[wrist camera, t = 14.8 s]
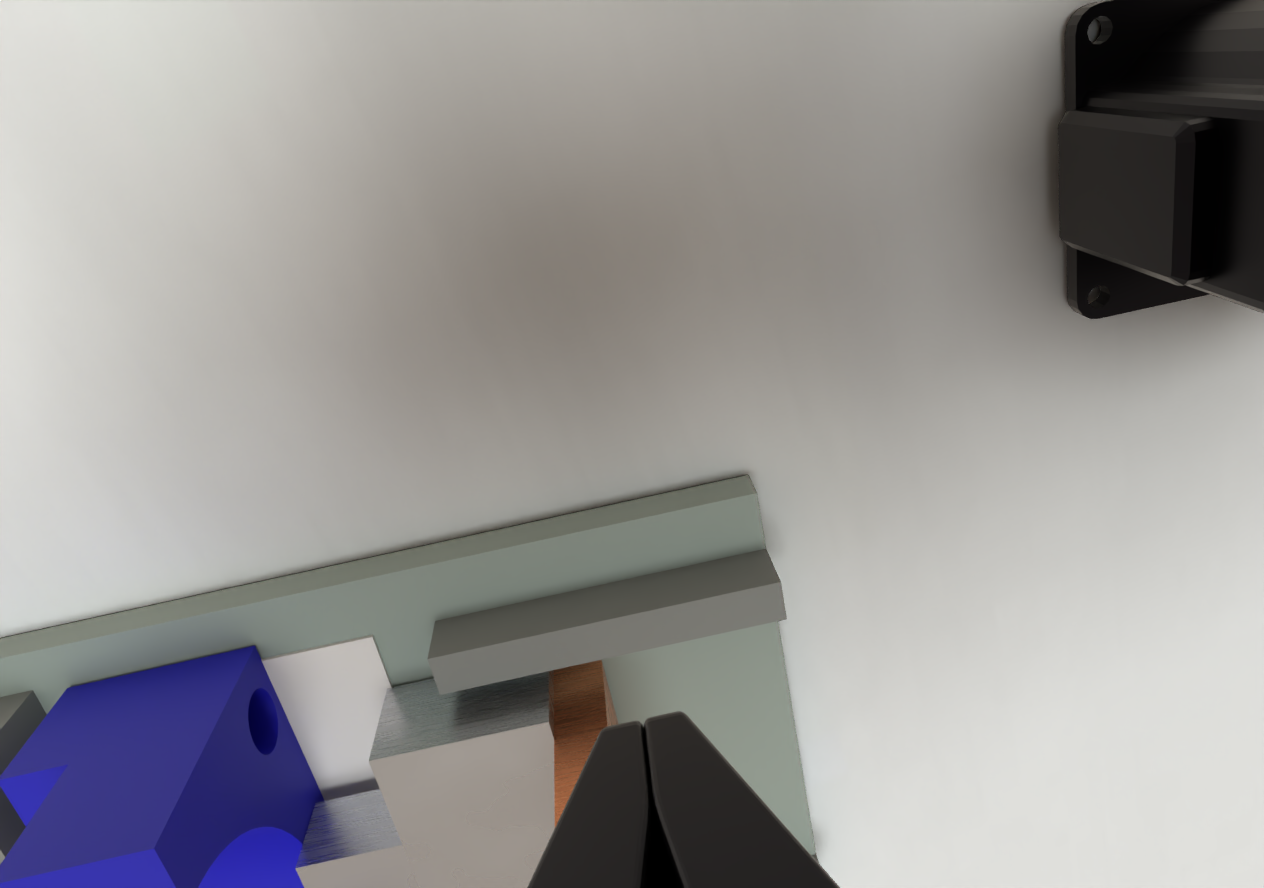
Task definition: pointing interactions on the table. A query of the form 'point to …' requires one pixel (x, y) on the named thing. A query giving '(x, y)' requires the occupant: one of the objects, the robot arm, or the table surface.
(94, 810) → the blue flanged block
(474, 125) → the table surface
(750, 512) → the grey fixture base
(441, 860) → the ram
